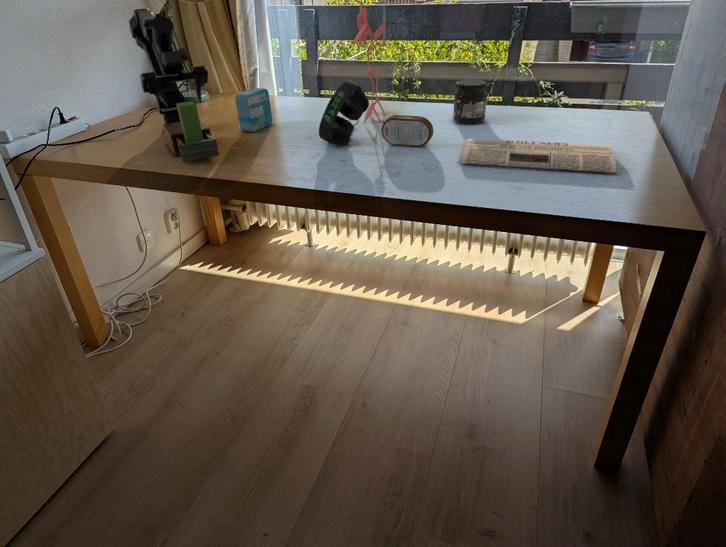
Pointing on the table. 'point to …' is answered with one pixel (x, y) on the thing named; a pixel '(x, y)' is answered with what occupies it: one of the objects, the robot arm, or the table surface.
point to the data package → (254, 109)
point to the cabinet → (178, 134)
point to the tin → (407, 130)
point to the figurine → (361, 36)
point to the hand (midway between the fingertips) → (184, 103)
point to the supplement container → (470, 101)
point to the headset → (343, 113)
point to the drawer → (197, 148)
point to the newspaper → (539, 155)
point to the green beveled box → (190, 121)
